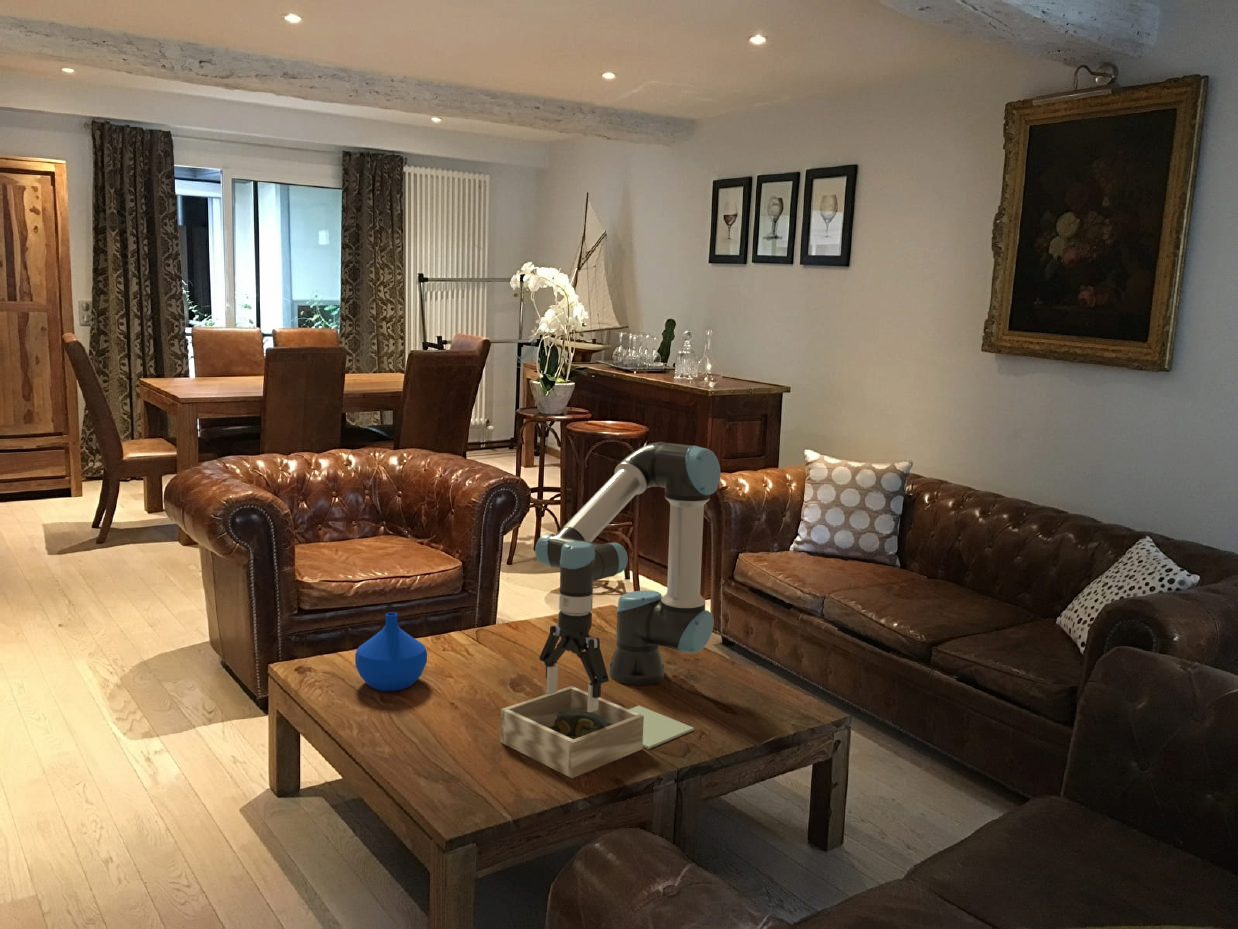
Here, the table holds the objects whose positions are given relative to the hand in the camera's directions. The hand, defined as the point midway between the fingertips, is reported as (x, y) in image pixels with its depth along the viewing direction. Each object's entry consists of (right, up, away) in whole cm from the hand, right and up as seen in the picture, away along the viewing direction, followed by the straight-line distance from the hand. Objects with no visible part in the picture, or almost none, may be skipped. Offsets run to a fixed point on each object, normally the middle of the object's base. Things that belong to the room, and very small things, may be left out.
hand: (571, 701), depth 232 cm
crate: (0, -10, +2) cm, 11 cm away
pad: (+17, -9, +13) cm, 23 cm away
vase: (-49, -4, +35) cm, 60 cm away
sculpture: (-1, -12, +2) cm, 12 cm away
